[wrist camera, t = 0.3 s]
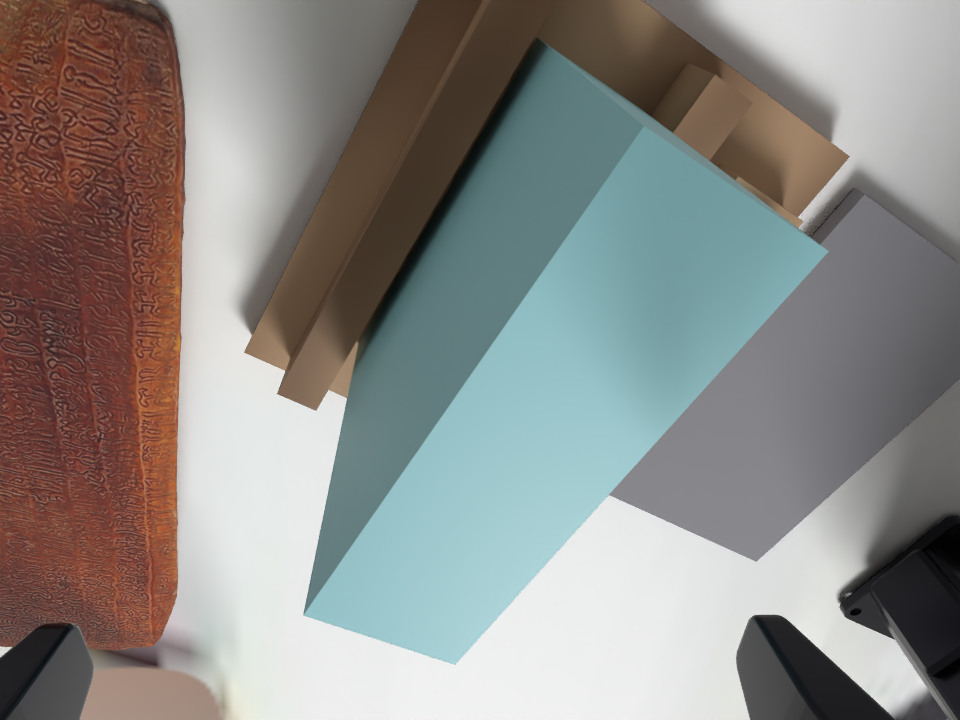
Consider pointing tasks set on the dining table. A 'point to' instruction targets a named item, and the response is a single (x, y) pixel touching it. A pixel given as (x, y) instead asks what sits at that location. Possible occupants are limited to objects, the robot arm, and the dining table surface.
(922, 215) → the dining table surface
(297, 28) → the dining table surface
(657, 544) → the dining table surface
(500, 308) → the teal panel
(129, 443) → the wooden tablet
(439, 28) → the walnut rack
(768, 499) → the grey rubber mat
